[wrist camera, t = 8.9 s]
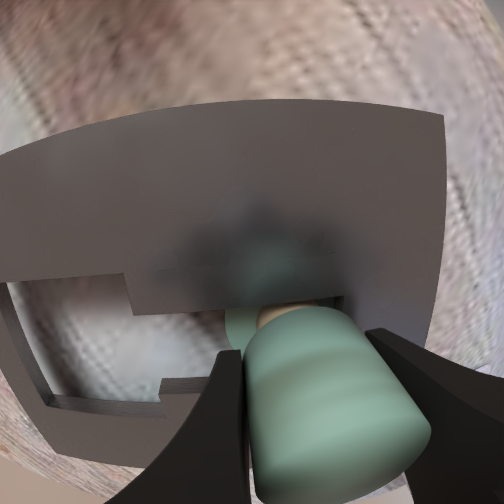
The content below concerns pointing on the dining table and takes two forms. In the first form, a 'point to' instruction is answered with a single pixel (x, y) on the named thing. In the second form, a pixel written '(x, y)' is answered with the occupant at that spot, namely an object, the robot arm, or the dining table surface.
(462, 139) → the dining table surface
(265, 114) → the keyhole plate
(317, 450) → the peg
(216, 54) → the dining table surface
